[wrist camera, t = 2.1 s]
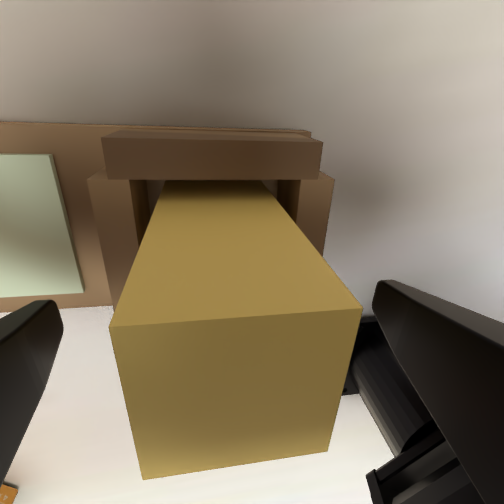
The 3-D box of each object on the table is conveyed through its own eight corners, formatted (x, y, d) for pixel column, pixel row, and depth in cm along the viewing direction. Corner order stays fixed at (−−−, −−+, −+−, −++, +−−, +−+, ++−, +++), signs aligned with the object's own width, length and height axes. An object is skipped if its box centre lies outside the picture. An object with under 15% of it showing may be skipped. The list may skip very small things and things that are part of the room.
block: (256, 262, 15) (327, 451, 7) (173, 266, 14) (142, 480, 6) (261, 180, 13) (363, 307, 5) (165, 180, 12) (108, 326, 4)
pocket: (291, 292, 16) (310, 331, 13) (135, 303, 15) (121, 347, 12) (309, 133, 12) (340, 142, 10) (106, 128, 11) (77, 136, 8)
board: (287, 283, 17) (293, 297, 16) (-64, 304, 14) (-87, 322, 13) (303, 130, 13) (313, 133, 12) (-163, 117, 10) (-207, 119, 9)
